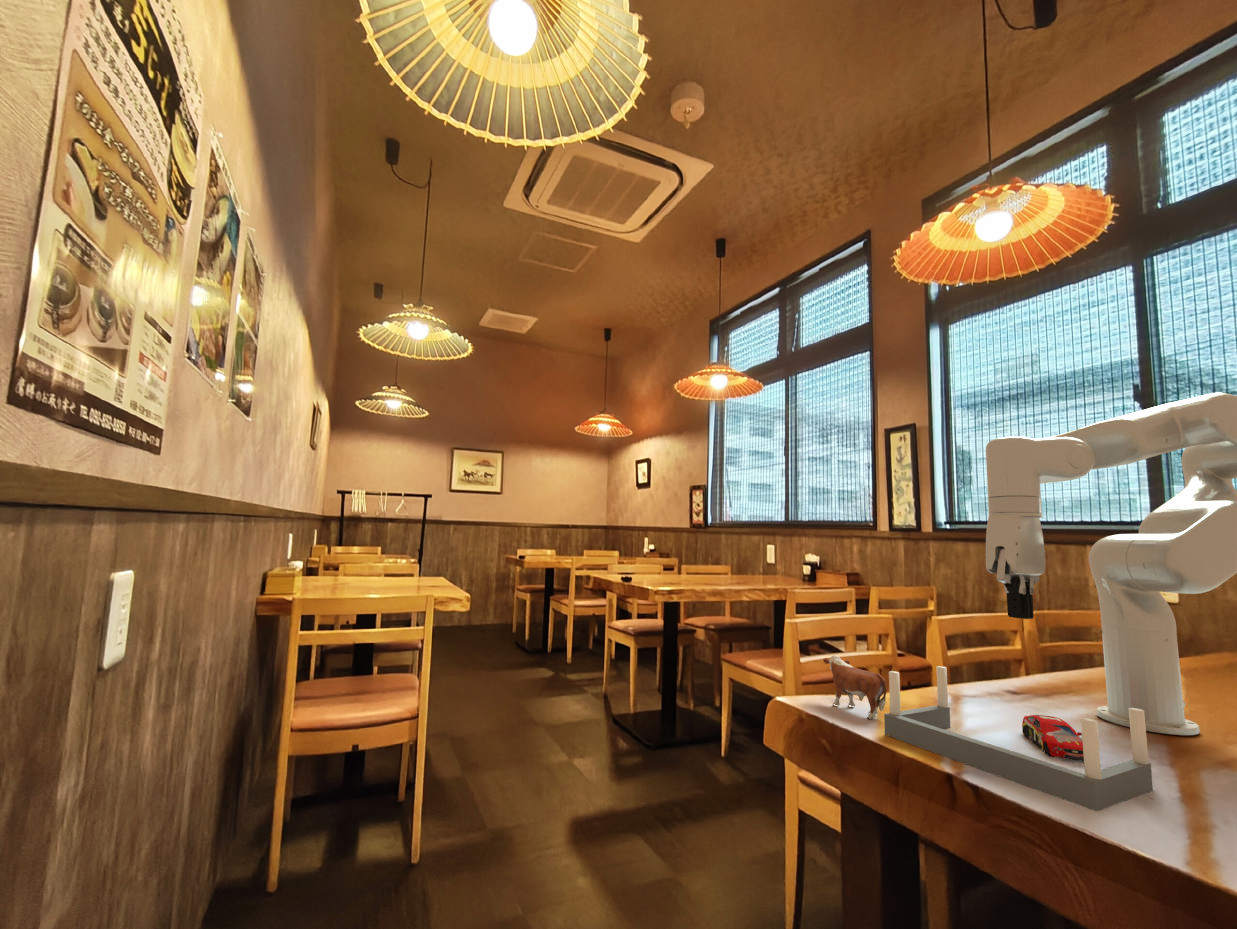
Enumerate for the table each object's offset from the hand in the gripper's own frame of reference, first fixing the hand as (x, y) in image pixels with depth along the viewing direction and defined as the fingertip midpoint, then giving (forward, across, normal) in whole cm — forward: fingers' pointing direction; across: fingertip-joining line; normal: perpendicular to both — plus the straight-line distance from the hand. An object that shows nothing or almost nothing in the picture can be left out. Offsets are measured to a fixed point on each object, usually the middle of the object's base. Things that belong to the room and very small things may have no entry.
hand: (1020, 617), depth 95 cm
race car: (+17, +9, +8) cm, 21 cm away
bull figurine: (+17, +22, -16) cm, 32 cm away
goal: (+17, +21, +8) cm, 28 cm away
